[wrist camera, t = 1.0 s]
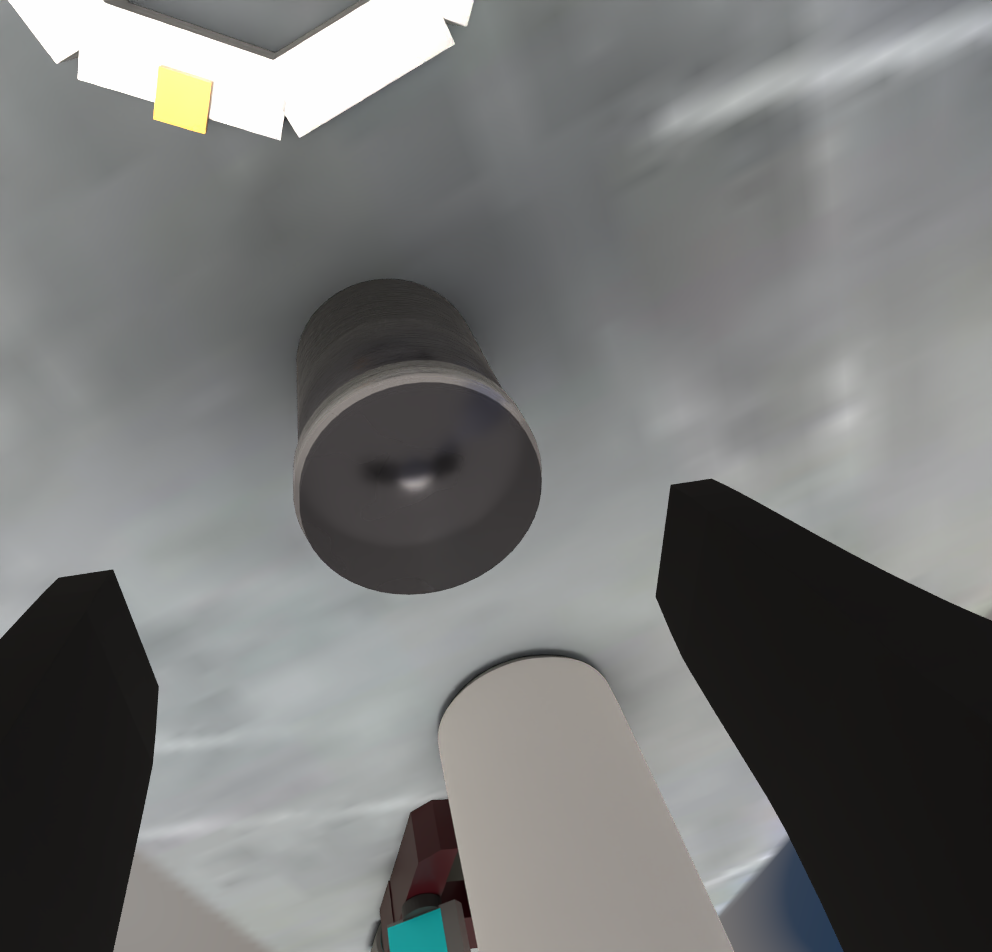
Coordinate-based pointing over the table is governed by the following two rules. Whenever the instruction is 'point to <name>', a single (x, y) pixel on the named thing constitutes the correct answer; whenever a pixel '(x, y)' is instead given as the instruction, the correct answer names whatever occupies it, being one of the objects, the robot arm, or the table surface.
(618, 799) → the can
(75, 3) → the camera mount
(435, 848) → the toy gun
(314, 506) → the lens
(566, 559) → the table surface
